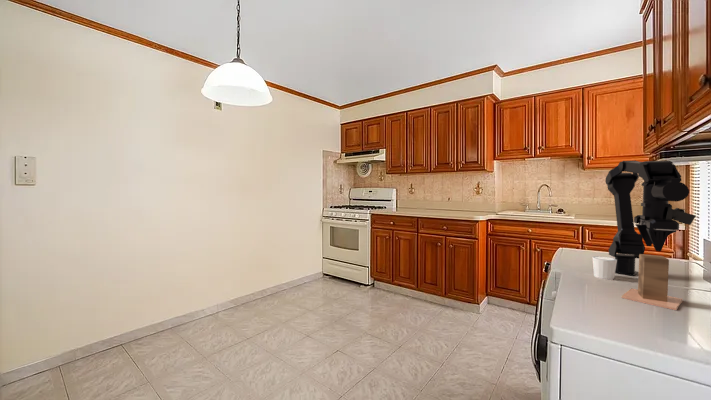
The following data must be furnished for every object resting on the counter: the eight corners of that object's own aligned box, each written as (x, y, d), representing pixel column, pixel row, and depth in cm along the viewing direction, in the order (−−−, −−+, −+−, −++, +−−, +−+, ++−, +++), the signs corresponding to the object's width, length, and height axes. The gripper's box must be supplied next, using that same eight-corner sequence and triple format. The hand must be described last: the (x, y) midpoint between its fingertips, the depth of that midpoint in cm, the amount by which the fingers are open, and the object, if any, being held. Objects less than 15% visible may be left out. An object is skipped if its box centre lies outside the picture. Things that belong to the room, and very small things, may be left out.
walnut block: (637, 293, 89) (639, 253, 89) (660, 296, 86) (662, 255, 86) (642, 298, 85) (644, 257, 84) (667, 301, 82) (668, 259, 82)
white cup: (621, 280, 104) (622, 260, 103) (602, 280, 104) (602, 260, 104) (605, 274, 111) (606, 255, 110) (587, 274, 111) (587, 255, 110)
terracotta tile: (631, 290, 93) (631, 288, 93) (682, 300, 84) (682, 298, 84) (621, 297, 87) (621, 295, 87) (676, 310, 78) (676, 308, 78)
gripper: (706, 202, 82) (704, 257, 82) (679, 199, 97) (677, 246, 98) (651, 201, 87) (649, 252, 88) (634, 199, 103) (632, 243, 104)
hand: (653, 248), depth 94 cm, fingers open, 9 cm apart
